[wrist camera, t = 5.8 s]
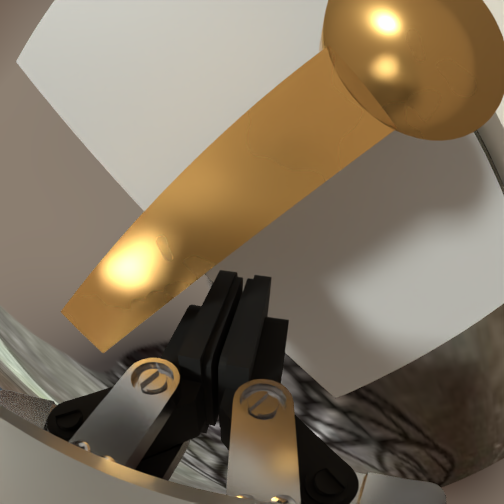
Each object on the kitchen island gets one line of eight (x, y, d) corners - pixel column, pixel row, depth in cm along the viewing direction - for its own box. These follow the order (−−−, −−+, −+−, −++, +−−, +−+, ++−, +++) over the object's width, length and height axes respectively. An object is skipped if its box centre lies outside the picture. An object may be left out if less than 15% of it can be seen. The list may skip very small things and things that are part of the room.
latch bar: (389, -23, 5) (421, -68, 3) (472, 82, 6) (534, 84, 4) (91, 246, 11) (40, 290, 8) (160, 315, 12) (125, 372, 9)
